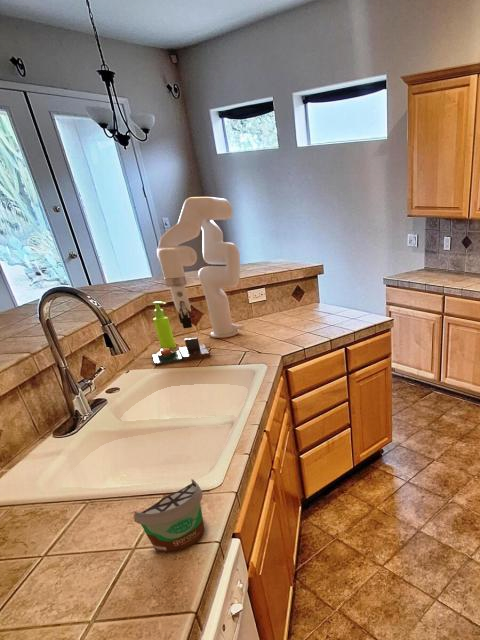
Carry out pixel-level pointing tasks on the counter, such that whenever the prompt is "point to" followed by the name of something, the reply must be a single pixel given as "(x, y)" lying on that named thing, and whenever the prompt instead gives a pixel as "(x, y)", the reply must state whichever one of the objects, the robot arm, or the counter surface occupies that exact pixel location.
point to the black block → (192, 344)
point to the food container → (174, 520)
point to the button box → (167, 358)
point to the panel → (194, 353)
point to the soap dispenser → (163, 327)
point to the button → (165, 351)
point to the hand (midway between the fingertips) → (186, 325)
